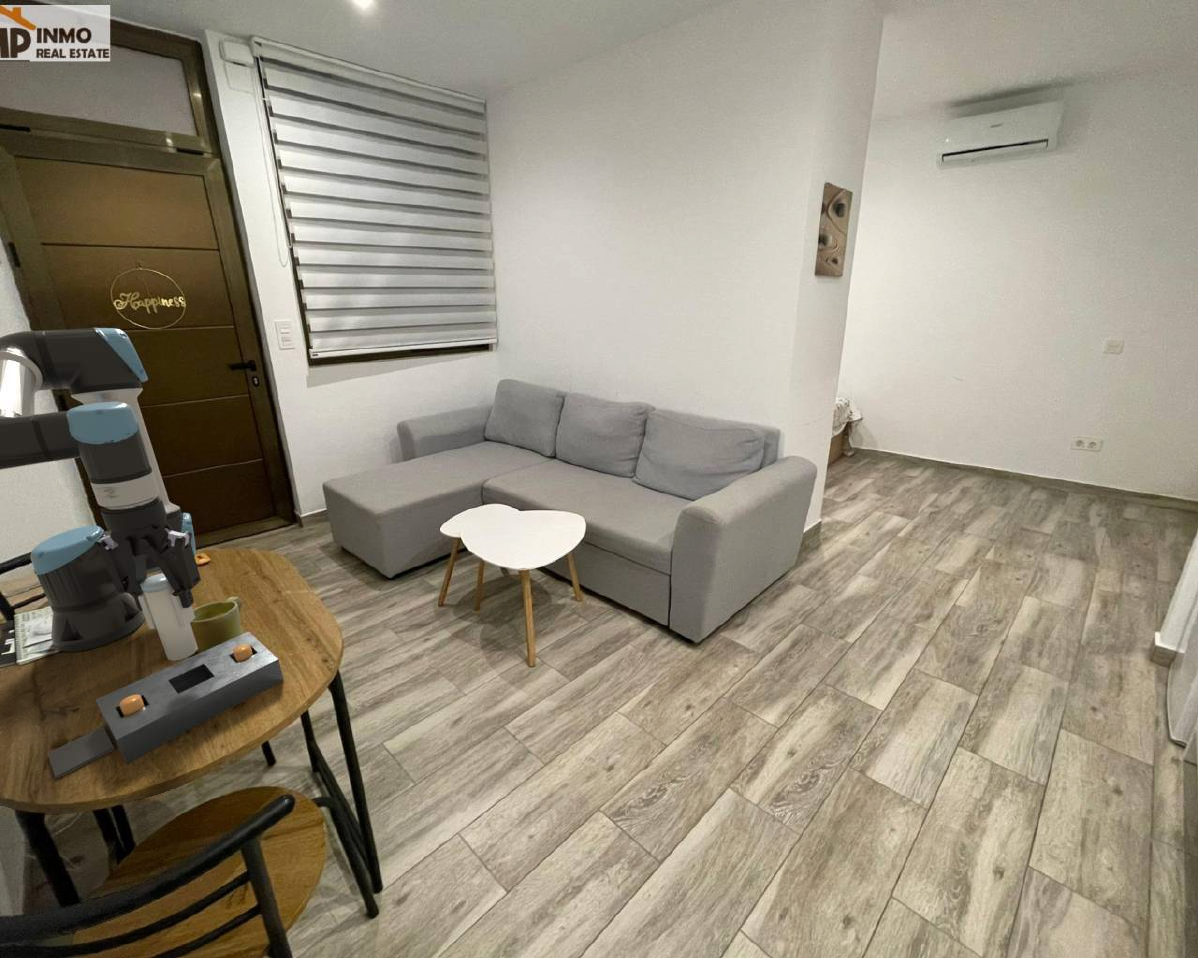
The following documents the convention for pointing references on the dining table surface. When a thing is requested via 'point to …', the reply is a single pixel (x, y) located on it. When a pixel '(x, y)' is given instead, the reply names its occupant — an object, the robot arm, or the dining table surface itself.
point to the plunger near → (131, 704)
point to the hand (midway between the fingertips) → (172, 622)
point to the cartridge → (168, 618)
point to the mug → (216, 623)
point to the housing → (188, 695)
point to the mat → (80, 752)
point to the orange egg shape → (242, 652)
